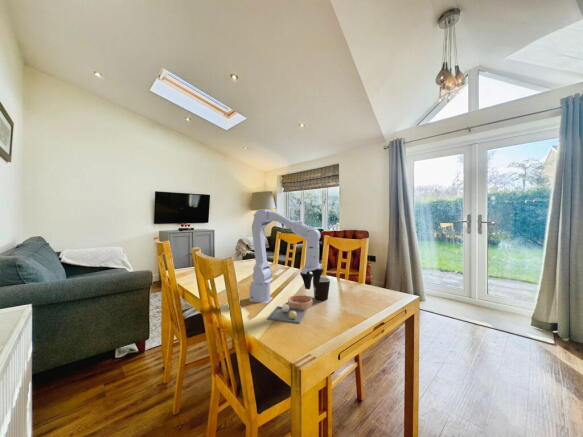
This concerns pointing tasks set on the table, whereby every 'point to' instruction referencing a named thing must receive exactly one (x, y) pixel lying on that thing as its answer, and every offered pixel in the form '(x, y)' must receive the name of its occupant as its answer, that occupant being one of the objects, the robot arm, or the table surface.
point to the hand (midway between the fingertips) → (311, 286)
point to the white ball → (285, 308)
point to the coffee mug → (321, 289)
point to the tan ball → (292, 314)
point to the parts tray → (286, 315)
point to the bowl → (300, 301)
